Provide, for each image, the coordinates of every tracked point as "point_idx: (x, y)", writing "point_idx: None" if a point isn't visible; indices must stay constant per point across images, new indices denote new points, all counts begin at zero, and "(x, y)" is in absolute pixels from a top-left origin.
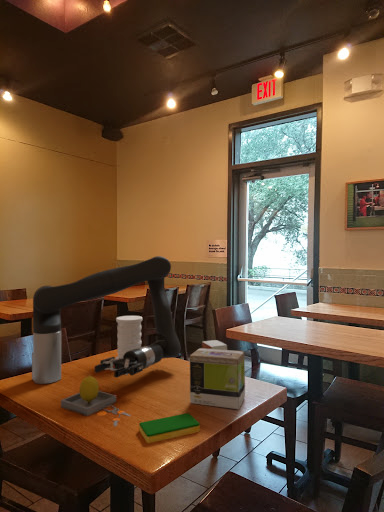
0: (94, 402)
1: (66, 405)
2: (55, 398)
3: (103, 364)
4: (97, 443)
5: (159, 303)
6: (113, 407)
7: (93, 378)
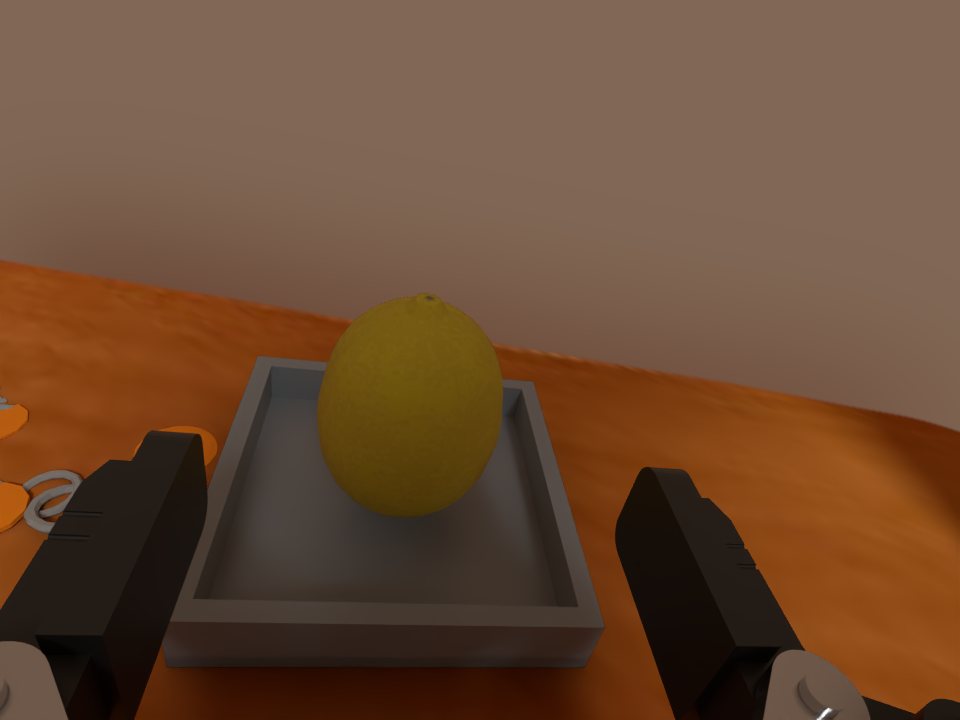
0: (358, 521)
1: None
2: None
3: (710, 617)
4: (15, 265)
5: None
6: None
7: (380, 327)
